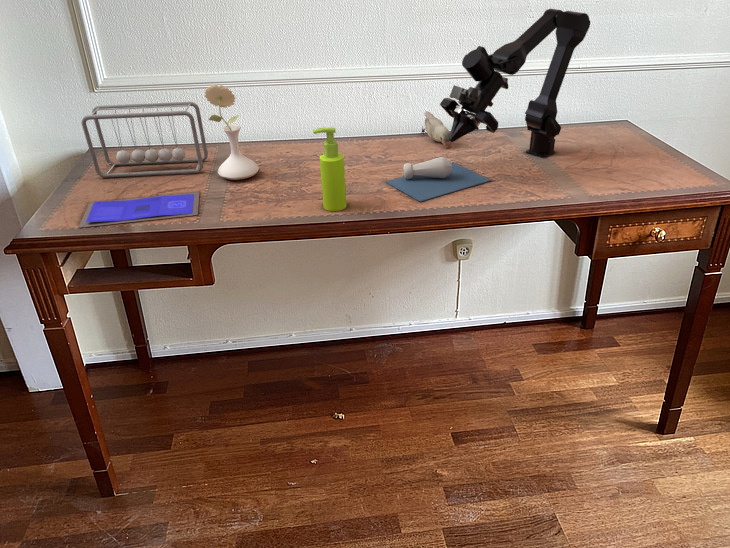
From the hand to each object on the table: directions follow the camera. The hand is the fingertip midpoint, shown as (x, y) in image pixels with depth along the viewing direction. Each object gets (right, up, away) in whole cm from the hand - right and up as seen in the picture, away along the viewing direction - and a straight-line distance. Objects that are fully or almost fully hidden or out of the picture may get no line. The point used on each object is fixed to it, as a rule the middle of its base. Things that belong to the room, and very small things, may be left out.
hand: (450, 141), depth 161 cm
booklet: (-79, -19, -7) cm, 82 cm away
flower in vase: (-60, -7, +11) cm, 61 cm away
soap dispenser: (-31, -19, -8) cm, 37 cm away
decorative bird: (-1, +8, +32) cm, 33 cm away
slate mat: (-3, -10, +4) cm, 11 cm away
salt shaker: (+1, -6, +4) cm, 7 cm away
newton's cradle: (-85, -4, +16) cm, 87 cm away
